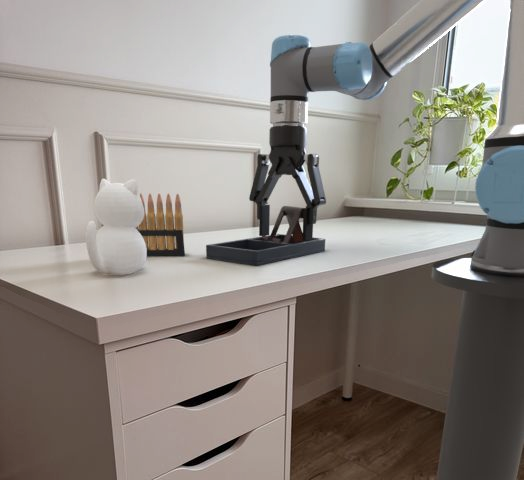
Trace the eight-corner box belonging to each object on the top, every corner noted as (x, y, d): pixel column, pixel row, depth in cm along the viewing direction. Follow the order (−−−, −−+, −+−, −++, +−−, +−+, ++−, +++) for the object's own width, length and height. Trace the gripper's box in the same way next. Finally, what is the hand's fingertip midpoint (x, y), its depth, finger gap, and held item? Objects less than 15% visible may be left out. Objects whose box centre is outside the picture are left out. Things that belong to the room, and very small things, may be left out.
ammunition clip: (130, 256, 103) (126, 193, 99) (131, 254, 105) (127, 193, 101) (184, 255, 104) (182, 193, 100) (184, 254, 106) (182, 193, 102)
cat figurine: (160, 268, 91) (155, 178, 86) (118, 282, 80) (109, 180, 75) (117, 265, 94) (110, 178, 89) (70, 277, 82) (59, 179, 78)
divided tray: (324, 250, 113) (325, 238, 112) (256, 265, 95) (256, 251, 94) (278, 245, 120) (278, 233, 119) (206, 258, 102) (205, 244, 101)
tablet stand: (260, 245, 114) (261, 206, 111) (292, 243, 117) (293, 205, 114) (278, 250, 106) (279, 208, 103) (312, 248, 109) (313, 207, 107)
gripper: (232, 126, 107) (232, 234, 115) (328, 122, 94) (322, 244, 102) (254, 129, 113) (253, 231, 120) (348, 125, 100) (341, 240, 107)
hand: (285, 237), depth 111 cm, fingers closed on tablet stand, 11 cm apart
